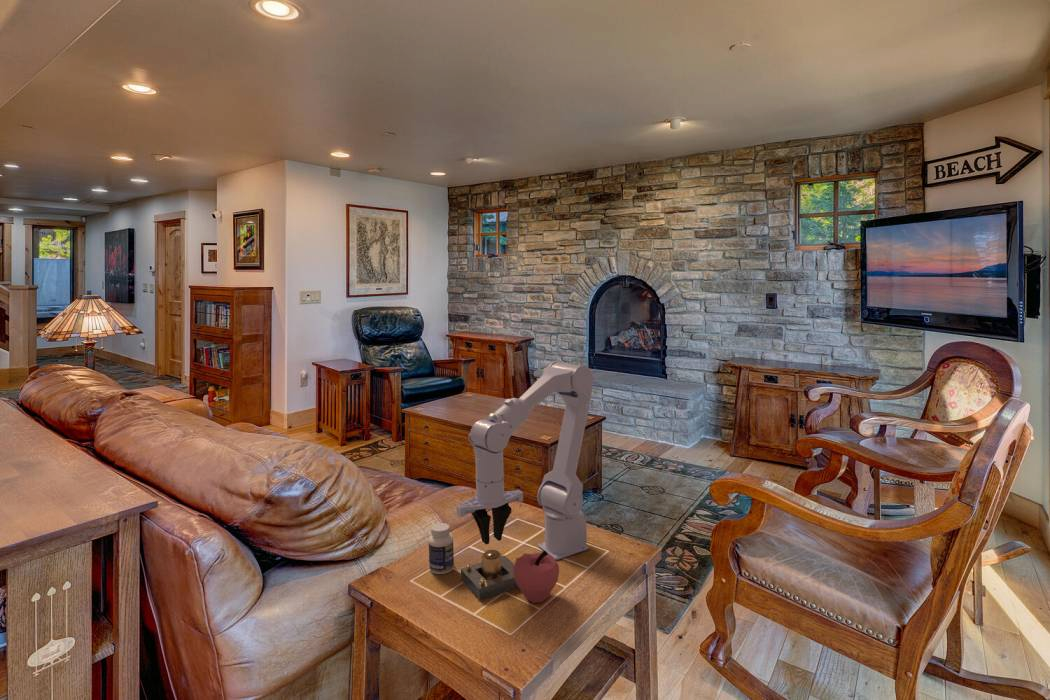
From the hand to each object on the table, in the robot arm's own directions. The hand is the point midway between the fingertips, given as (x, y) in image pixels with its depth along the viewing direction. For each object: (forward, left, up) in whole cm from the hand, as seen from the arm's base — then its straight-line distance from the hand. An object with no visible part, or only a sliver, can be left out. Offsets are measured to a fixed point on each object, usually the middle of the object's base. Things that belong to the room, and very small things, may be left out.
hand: (491, 540), depth 115 cm
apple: (-5, +10, -10) cm, 15 cm away
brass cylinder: (0, 0, -9) cm, 9 cm away
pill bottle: (+7, -11, -10) cm, 16 cm away
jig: (0, 0, -9) cm, 9 cm away
